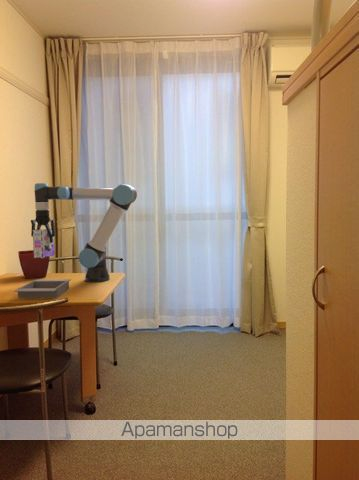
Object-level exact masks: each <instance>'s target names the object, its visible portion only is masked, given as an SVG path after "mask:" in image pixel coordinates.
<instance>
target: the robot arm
mask: <svg viewBox="0 0 359 480" xmlns="http://www.w3.org/2000/svg"><path fill="white" fill-rule="evenodd" d="M137 196H138V194H137V190H136V188H135V187H134V186H132V185H130V184H126V183H121V184H118V185H117V186H114V188H112V187H111V188H110V187H109V188H108V187H107V188H106V187H102V188H101V187H68V186H49V185H48V182H47V183H46V182H42V183H41V182H38V183H35V184H34V202H35V203H34V204H35V205H34V206H35V207H34V208H35V219H31V220H30V223H31V233H30V234H31V237H32V238H33V230H40V229H42V226H44V227H45V229H47V232H48V235H49V238H48V245H49V249H51V248H52V247H51V243H53V237H54V238H55V237H56V235H57V233H56V225H55V223H56V220H55V219H51V218H50V202H49V200H66V201H73V200H74V201H76V200H78V201H79V200H80V201H109V204H110V205H109V207H108V209H107V210H106V213H105V215H104V216H103V218H102V220H101V221H100V224H99V226H98V227H97V229H96V231H95V233H94V235H93V236H92V239H90V240H88V241H87V243H86V244H85V246H84V248H83V249H82V250H81V251H80V252H79V254H78V261H79V264H80V265H81V266H82V267H84V268H87V269H86V272H85V276H84V281H85V282H89V283H90V282H91V283H95V282H96V283H97V282H98V283H99V282H100V283H101V282H105V281H109V280H110V273H109V271H108V267H107V247H106V245H107V244H108V241H109V240H110V238H111V237H112V234H113V232H114V230H115V228H116V226H117V225H118V223H119V221H120V219H121V218H122V216H123V214H124V212H128V210H129V208H130V206H131V204H133V203H134V202H135V201H136V199H137V198H138V197H137ZM36 223H37V224H36ZM49 223H50V224H49ZM50 229H52V233H51V230H50Z"/></svg>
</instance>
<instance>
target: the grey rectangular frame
mask: <svg viewBox="0 0 359 480" xmlns="http://www.w3.org/2000/svg"><path fill="white" fill-rule="evenodd" d="M71 280H72V279H71V278H68V279H67V278H61V279H59V278H58V279H57V278H56V279H51V278H49V279H48V278H47V279H46V278H45V279H44V278H43V279H42V278H41V279H40V278H39V279H38V278H37V279H36V278H35V279H34V280H32V281H30V282H29V283H26V284H25V285H22V286H21V287H17V288H16V289H14V290H13V292H15V293H16V292H17V299H58V298H60V297H61V296H62V295H64V294H65V293H66V292H68V291H69V290H70V282H71Z"/></svg>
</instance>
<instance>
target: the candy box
mask: <svg viewBox="0 0 359 480" xmlns="http://www.w3.org/2000/svg"><path fill="white" fill-rule="evenodd" d="M50 230H51V233H52V229H51V228H50ZM48 238H49V235H48V232H47V229H46V228H43V229H42V228H40V230H36V229H35V230H33V237H32V244H33V247H32V248H33V250H34V258H45V257H49V256H50V257H53V256H55V255H56V254H55V253H56V252H55V236H54V237H53V243H51V247H52V248H51V249H49V245H48Z"/></svg>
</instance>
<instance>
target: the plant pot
mask: <svg viewBox="0 0 359 480" xmlns="http://www.w3.org/2000/svg"><path fill="white" fill-rule="evenodd" d="M17 253H18V259H19V264H20V268H21V271H22V273H23V276H24V279H36V278H37V279H38V278H46V276H47V273H48V271H49V264H50V259H51V258H50V257H51V256H49V257H45V258H34V249H31V250H18V251H17Z"/></svg>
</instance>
